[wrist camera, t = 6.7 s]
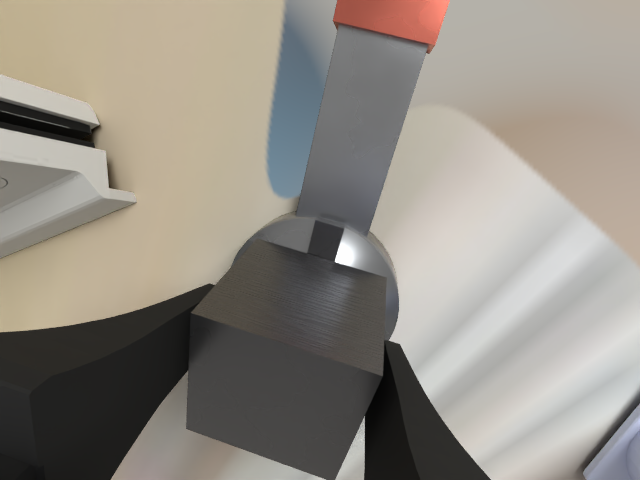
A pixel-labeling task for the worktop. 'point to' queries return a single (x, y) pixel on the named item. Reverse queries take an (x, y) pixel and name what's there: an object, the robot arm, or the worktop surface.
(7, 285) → the worktop surface
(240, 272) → the brushed grey cube
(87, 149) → the white electronic device
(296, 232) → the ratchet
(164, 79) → the worktop surface
